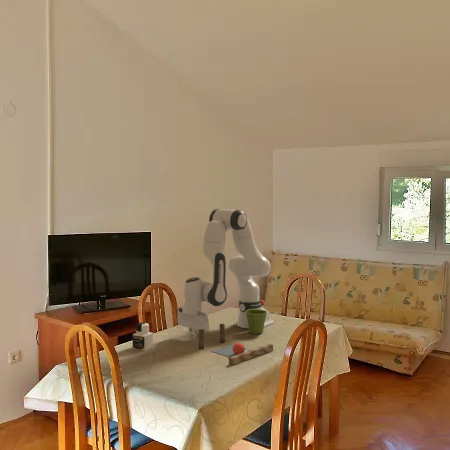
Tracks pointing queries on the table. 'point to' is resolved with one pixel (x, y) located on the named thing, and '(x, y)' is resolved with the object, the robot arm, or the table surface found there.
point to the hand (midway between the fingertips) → (193, 336)
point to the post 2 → (222, 333)
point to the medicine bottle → (142, 337)
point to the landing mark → (226, 351)
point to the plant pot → (256, 320)
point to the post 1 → (201, 339)
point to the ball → (238, 348)
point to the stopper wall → (250, 354)
